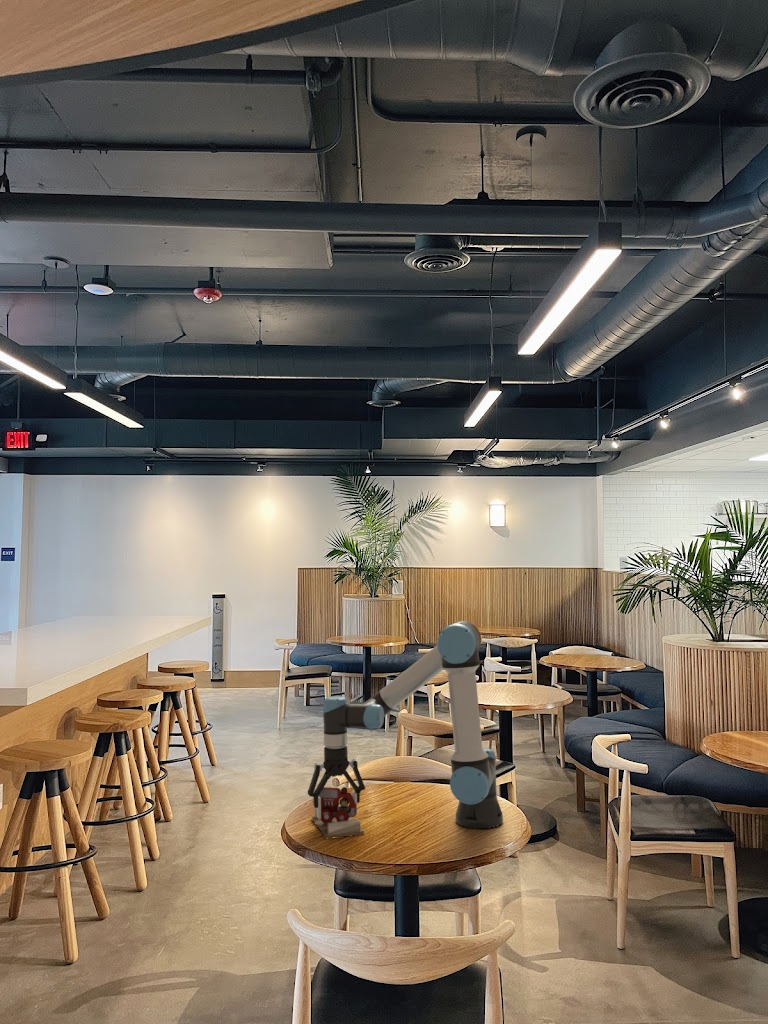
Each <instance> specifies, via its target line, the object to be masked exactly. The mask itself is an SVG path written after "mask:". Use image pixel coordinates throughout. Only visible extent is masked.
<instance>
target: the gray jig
mask: <svg viewBox="0 0 768 1024" xmlns="http://www.w3.org/2000/svg"><path fill="white" fill-rule="evenodd" d="M339 807H340V803H339V806H338V810H339ZM353 818H354V817H349V819H348V820H347V821H340V822H337V820H336V817H333V820H332V821H331V822H330V823H327V824H326V823H323V822H322V821H321V819H318V818H317V808H315V807H314V816H311V820H312V819H313V821H314V822H315V823H316V825H317V826H318V827H319V829H320V830H321V831H322V833H323V834H324V835H325V837H326V838H333V837H341V838H344V837H343V836H348V837H351V836H350V835H355V836H360V835H364V834H365V830H364V829H363V828H362V827H361V820H360V819H359V818H356V819H355V818H354V819H353ZM313 821H312V822H313ZM314 822H313V823H314ZM315 823H314V824H315ZM316 825H315V826H316ZM317 826H316V827H317ZM318 827H317V828H318ZM319 829H318V830H319ZM320 830H319V831H320ZM321 831H320V832H321ZM322 833H321V834H322ZM323 834H322V835H323ZM324 835H323V836H324ZM325 837H324V838H325ZM326 838H325V839H326Z"/></svg>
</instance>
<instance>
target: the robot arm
mask: <svg viewBox="0 0 768 1024" xmlns="http://www.w3.org/2000/svg"><path fill="white" fill-rule="evenodd" d="M481 643H482V636H481V632H480V631H479V628H478V627H477V626H476V625H474V624H473V623H472V622H470V621H466V620H461V621H460V620H459V621H456V622H453V623H451V624H448V625H447V626H445V627H444V628H443V629H442V630H441V632H440V634H439V636H438V639H437V641H436V646H434V647H433V648H431V649H430V650H429V651H428V652H427V653H425V654H424V655H423V656H421V657H420V658H418V660H416V661H415V662H414V663H412V665H410V666H409V667H408V668H407V669H405V670H404V671H403V672H401V674H399V675H398V676H396V678H394V679H392V681H390V682H389V683H388V684H387V685H385V686H384V687H383V688H382V689H380V690H379V691H378V692H376V693H375V694H374V695H372V696H371V697H370V698H369V699H367V700H366V701H365V702H363V703H348V702H347V698H346V697H345V696H339V695H337V696H329V697H326V698H324V700H323V710H322V715H323V745H324V748H323V758H324V760H323V763H314V772H313V774H312V777H311V780H310V783H309V787H308V790H307V795H308V796H309V797H312V798H313V799H312V800H313V807H314V809H315V808H317V818H318V819H321V798H320V796H319V795H320V793H321V791H322V790H323V788H324V787H326V784H327V783H328V781H329V780H330V778H331V777H333V778H334V777H336V776H338V777H341V776H344V777H345V779H346V780H347V782H348V783H349V784H350V786H351V788H352V789H353V791H352V792H351V795H352V797H353V799H354V801H355V803H356V815H358V803H360V800H361V797H360V796H361V794H360V793H361V791H364V790H366V786H365V783H364V780H363V779H362V776H361V773H360V771H359V767H358V761H357V760H356V759H354V758H353V759H352V760H349V759H348V756H349V755H348V754H349V753H348V746H347V745H348V729H368V730H372V729H374V730H375V729H380V728H382V726H383V724H384V722H385V721H384V720H385V717H386V716H387V715H388V714H389V713H391V712H392V711H393V710H394V709H396V707H398V706H399V705H400V704H402V703H403V702H404V701H405V700H407V699H408V698H409V697H410V696H412V695H413V694H414V693H416V692H417V691H418V690H419V689H421V688H422V687H423V686H424V685H427V684H428V683H429V682H430V681H431V680H432V679H433V678H435V677H437V676H438V675H439V674H440V673H442V672H443V671H445V672H446V673H447V678H448V689H449V702H450V712H451V722H452V723H451V724H452V735H453V746H454V751H453V753H452V754H451V756H450V769H451V777H450V778H449V787H450V791H451V794H452V795H453V797H455V799H456V800H457V801H458V805H457V807H456V810H455V811H456V812H455V823H456V822H457V823H458V824H457V823H456V824H457V825H459V826H461V827H463V826H464V827H465V828H467V827H469V828H468V829H473V828H488V829H490V828H489V827H493V826H497V825H500V824H501V823H502V822H503V823H504V815H503V812H502V809H501V807H500V802H499V800H498V795H497V769H496V768H497V767H496V761H497V759H496V752H495V751H494V750H493V749H491V748H486V747H485V748H484V747H483V740H482V730H481V717H480V708H479V706H480V705H479V698H478V697H479V696H478V686H477V676H476V671H477V669H478V668H479V667H480V666H481V665H480V656H479V653H480V652H479V649H480V647H481ZM349 766H350V767H351V769H352V771H353V773H354V776H355V779H356V781H357V784H358V785H357V784H356V782H355V780H353V778H352V777H351V776H350V774H349V773H348V771H347V769H348V767H349ZM322 769H324V770H325V771H324V773H323V776H322V778H321V779H320V781H319V783H318V780H319V777H320V774H321V772H322ZM317 783H318V784H317ZM316 785H317V786H316ZM503 823H502V824H503ZM502 824H501V825H502ZM501 825H500V826H501ZM497 827H498V826H497Z"/></svg>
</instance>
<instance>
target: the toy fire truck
mask: <svg viewBox="0 0 768 1024" xmlns="http://www.w3.org/2000/svg"><path fill="white" fill-rule="evenodd" d="M319 796H320V798H321V821H322V822H323V823H326V824H327V823H330V822H331V821H332V820H333V817H336V820H337V822H340V821H347V820H348V819H349V817H352V818H355V817H356V815H357V814H356V803H355V801H354V799H353V797H352V792H348V788H347V787H346V786H342V787H341V788H339V787H329V786H328V787H326V786H324V788H323V790H322V791H321V793H320V795H319ZM339 804H340V807H339V810H338V806H339Z"/></svg>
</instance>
